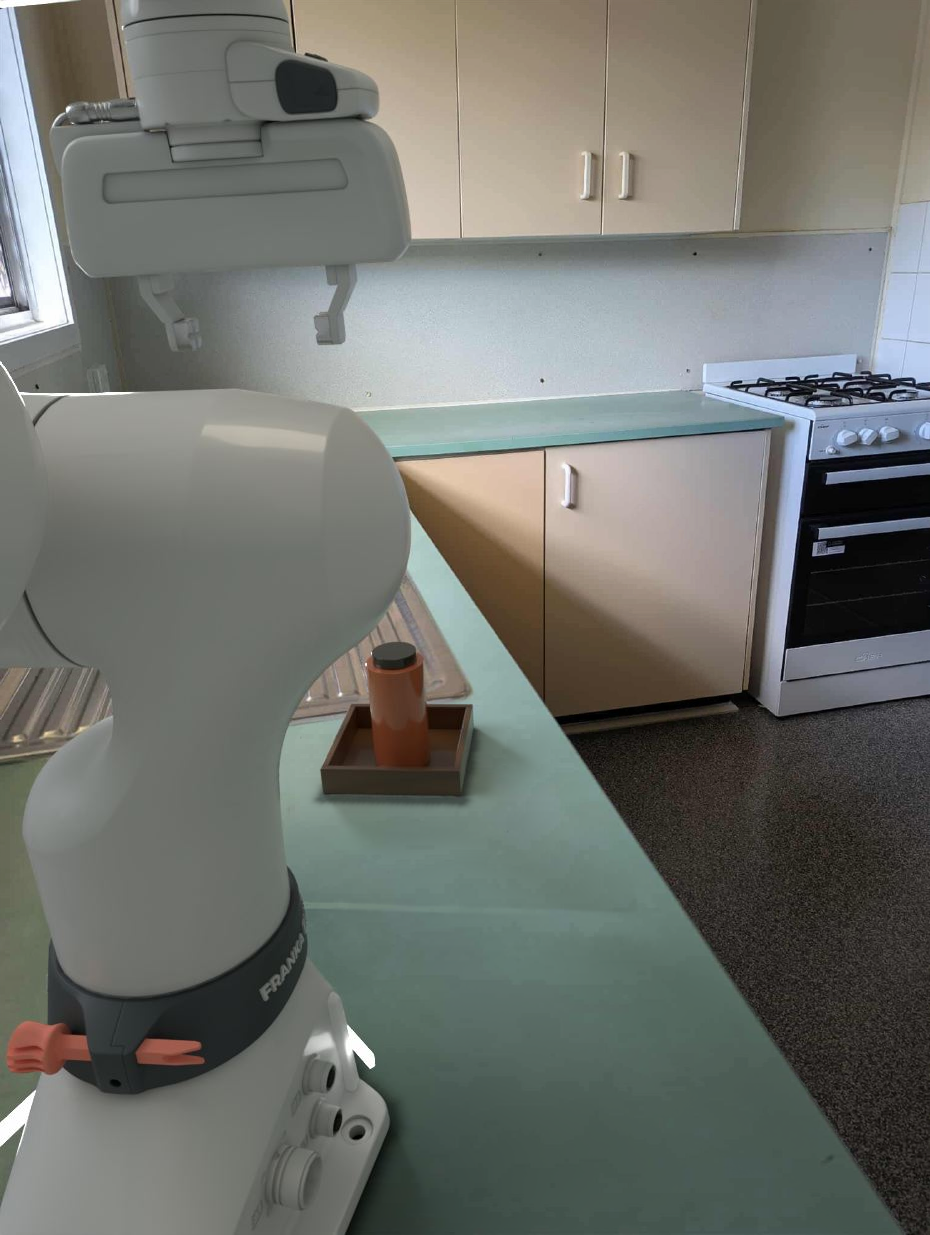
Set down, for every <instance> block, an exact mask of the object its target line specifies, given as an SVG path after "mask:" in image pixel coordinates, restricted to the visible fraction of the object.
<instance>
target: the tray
mask: <svg viewBox="0 0 930 1235" xmlns="http://www.w3.org/2000/svg"><path fill="white" fill-rule="evenodd" d="M427 710H428V724H429V738H430V751H431V758H430V760H429V762H428V763H427V764H426V765H425V766H423V767H393V766H377V764H376V762H375V754H374V744H373V734H372V724H371V714H370V704H369V703H351V704H350V705H349V707H348V709H347V711H346V714H345V716H344V718H343V720H342V722H341V724H340V726H339V728H338V731H337V732H336V735H335V737H334V739H333V741H332V743H331V744H330V747H329V749H328V752H327V754H326V755H325V758H324V760H323V762H322V764H321V766H320V768H319V771H320V779H321V785H322V788H321V789H322V793H323V795H355V796H356V795H357V796H358V795H361V796H363V795H364V796H365V795H366V796H371V795H372V796H416V797H417V796H420V797H421V796H423V797H427V796H428V797H436V796H437V797H462V794H463V787H464V782H465V777H466V771H467V766H468V761H469V755H470V750H471V745H472V739H473V733H474V729H475V722H474V705H473V704H472V703H454V704H453V703H427Z"/></svg>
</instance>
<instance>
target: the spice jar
mask: <svg viewBox="0 0 930 1235" xmlns="http://www.w3.org/2000/svg"><path fill="white" fill-rule="evenodd" d="M370 654H371V656H369V657H368V658H367V659H366V661H365V671H366V681H367V682H366V683H367V692H368V701H369V703H368V704H370V714H371V724H372V734H373V744H374V754H375V762H376V764H377V766H393V767H423V766H425V765H426V764H427V763H428V762H429V760H430V758H431V751H430V738H429V724H428V710H427V704H428V699H427V698H428V697H427V684H426V668H425V658H424V656H423V655H422V653H420V652H418V651H417V647H416V646H415V645H414V644H413V643H410V642H407V641H390V642H385V643H380V644H379V645H376V646H375V647H374V648H372V650H371V652H370Z"/></svg>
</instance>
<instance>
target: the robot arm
mask: <svg viewBox="0 0 930 1235" xmlns="http://www.w3.org/2000/svg"><path fill="white" fill-rule="evenodd" d="M78 1H80V0H0V10H2V9H5V8H9V7H23V6H33V5H43V4H55V3H66V2H68V3H69V2H78ZM120 1H121V2H120V17H119V18H120V26H121V30H122V36H123V41H124V46H125V52H126V57H127V61H128V65H129V66H128V67H129V71H130V77H131V81H132V87H133V92H134V96H133V97H123V98H114V99H109V100H108V99H107V100H104V101H98V102H90V101H75V102H71V103H69V104H67V105H66V106H65V111H63V112H61V113H60V114H59V115H58V116H56V118H55V119H54V121H53V123H52V125H51V128H50V130H49V134H48V135H49V144H50V149H51V152H52V157H53V161H54V164H55V165H54V166H55V169H56V171H57V174H58V175H59V177H60V180H61V190H62V191H61V192H62V202H63V212H64V218H65V219H64V220H65V225H66V233H67V237H68V244H69V249H70V252H71V256H72V259H73V262H75V264H76V265H77V266H78V267H79V268H80V269H81V270H82V271H83V272H84V273H85V275H87V276H88V277H90V278H93V279H95V278H97V279H98V278H114V277H116V278H117V277H133V276H135V277H136V281H137V285H138V290H139V295H140V297H141V298H142V299H143V300H144V302H145V303H146V304H147V306H148V307H149V308H150V309H151V310H152V312H153V313H154V314H155V315H156V317H157V318H158V319H159V320H160V321H161V323H162V324H164V327H165V331H166V336H167V341H168V346H169V349H170V350H171V352H188V351H189V352H191V351H197V350H198V349H201V347H202V345H203V344H202V343H203V340H202V335H201V334H200V333H199V331H200V323H199V319H198V317H185V315H184V313H183V312H182V311H181V309H180V308H179V307H178V305H177V304H176V302H175V301H174V299H173V297H172V296H171V294H170V293H169V292H170V291H173V290H174V289H175V288H176V287H175V281H174V275H173V274H189V273H209V272H210V273H211V272H228V271H231V272H232V271H246V270H266V269H284V268H285V269H286V268H302V267H303V268H305V267H321V266H323V267H325V274H326V275H325V276H326V281H327V283H326V284H327V285H328V286H336V289H335V291H334V294H333V296H332V299H331V301H330V304H329V307H328V308H327V311H320V312H318V313H317V314H315V315H314V316H313V323H314V324H313V325H314V329H315V330H316V331H317V332H316V334H315V339H316V344H317V345H318V346H334V345H337V346H338V345H343V344H345V342H346V336H347V334H346V326H345V316H344V312H345V311H346V309H347V306H348V305H349V302H350V299H351V297H352V294H353V292H354V290H355V288H356V285H357V283H358V274H357V265H361V264H380V263H381V264H382V263H393V262H396V261H397V260H399V259H400V258H401V257H403V255H404V254H405V253H406V252H407V250H408V249H409V247H410V246H411V243H412V224H411V214H410V208H409V201H408V195H407V190H406V185H405V179H404V175H403V170H402V166H401V165H402V164H401V162H400V158H399V155H398V151H397V148H396V146H395V143H394V141H393V140H392V138H391V136H390V135H389V134H388V132H387V131H386V130H385V129H384V128H382V127H381V126H380V125H379V124H376V123H375V122H372V121H370V120H372V119H374V118H375V117H376V116H377V115H378V114H379V111H380V92H379V86H378V85H377V83H376V81H375V80H374V79H373V78H372V77H371V76H369V75H368V74H366V73H364V72H362V71H361V70H357V69H355V68H351V67H348V66H346V65H345V66H344V65H340V64H338V63H334V62H330V61H329V60H328V59H327V58H325V57H324V56H321V55H320V54H319V55H318V54H316V53H310V52H305V53H304V54H302V53H297V52H296V50H295V48H294V47H293V43H292V36H291V30H290V21H289V20H290V19H289V14H288V11H287V8H286V5H285V2H284V0H120ZM67 121H69V123H71V125H63V124H64V123H65V122H67ZM72 124H73V125H72ZM411 546H412V516H411V508H410V503H409V498H408V494H407V490H406V487H405V483H404V480H403V478H402V475H401V472H400V470H399V468H398V466H397V463H396V462H395V460H394V458H393V456H392V455H391V453H390V451H389V449H388V447H387V446H386V445H385V444H384V442H383V440H382V439H381V437H380V436H379V435H378V434H377V432H375V430H373V428H372V427H371V426H370V425H369V423H367V421H366V420H364V419H363V418H362V417H361V416H360V415H359V414H358V413H357V412H356V411H354V410H353V409H352V408H349V407H346V406H341V405H336V404H331V403H327V402H322V401H317V400H312V399H311V400H310V399H306V398H301V397H295V396H289V395H285V394H284V395H283V394H277V393H269V392H262V391H256V390H249V389H243V388H236V387H235V388H234V387H233V388H210V389H207V388H206V389H184V390H183V389H180V390H158V391H157V390H155V391H154V390H153V391H126V392H102V393H101V392H99V393H96V392H95V393H31V392H30V393H29V392H19V390H18V388H17V386H16V384H15V383H14V381H13V379H12V377H11V375H10V374H9V372H8V371H7V369H6V367H5V366H4V365H3V364H2V362H1V361H0V669H97V670H98V671H99V672H100V673H101V675H102V677H103V679H104V680H105V683H106V686H107V688H108V690H109V693H110V694H109V695H110V698H111V706H112V714H111V715H109V716H107V717H105V718H103V719H101V720H99V721H98V722H96V723H95V724H92V725H91V726H90V727H87V729H85V730H83V731H81V732H80V733H79V734H77V735H75V736H73V738H72V739H70V740H69V741H67V742H66V743H65V744H63V745H62V746H61V747H60V748H59V749H58V750H56V752H55V753H54V754H52V756H50V758H49V759H48V760H47V762H46V763H45V764H44V765H43V767H42V768H41V769H40V770H39V773H38V774H37V776H36V777H35V780H34V782H33V783H32V786H31V788H30V791H29V794H28V797H27V800H26V802H25V808H24V812H23V818H22V824H21V825H22V827H21V832H22V833H21V834H22V838H23V842H24V845H25V848H26V851H27V852H26V853H27V855H28V860H29V861H30V865H31V870H32V873H33V876H34V880H35V884H36V888H37V891H38V895H39V898H40V902H41V905H42V909H43V913H44V917H45V919H46V923H47V927H48V930H49V934H50V941H49V943H48V944H49V945H48V960H47V973H46V974H45V992H47V1024H45V1023H41V1022H36V1021H34V1020H33V1021H31V1020H26V1021H23V1022H21V1023H20V1024H18V1025H17V1027H16V1028H15V1029H14V1031H13V1033H12V1034H11V1035H10V1038H9V1040H8V1044H7V1049H8V1050H7V1051H6V1054H5V1060H6V1061H7V1062H6V1066H7V1069H9V1072H10V1073H12V1074H30V1073H35V1072H40V1073H41V1074H40V1076H39V1079H38V1082H37V1085H36V1088H35V1090H34V1091H33V1092H32V1093H31V1094H30V1095H29V1096H28V1097H26V1098H25V1100H23V1101H22V1103H20V1104H19V1105H18V1106H17V1107H16V1108H15V1109H14V1110H13V1111H12V1112H11V1113H9V1114H8V1115H7V1117H5V1118H4V1119H3V1120H2V1121H1V1122H0V1147H1V1146H2V1145H3V1144H4V1143H5V1142H6V1141H7V1140H9V1139H10V1138H11V1137H12V1136H13V1135H14V1134H15V1133H16V1132H17V1131H18V1130H20V1128H21V1127H22V1126H23V1125H24V1126H23V1130H22V1133H21V1137H20V1140H19V1144H18V1147H17V1150H16V1154H15V1156H14V1157H15V1158H14V1160H13V1164H12V1166H11V1171H10V1173H9V1177H8V1180H7V1183H6V1187H5V1190H4V1193H3V1197H2V1200H1V1204H0V1235H346V1233H347V1231H348V1228H349V1226H350V1223H351V1221H352V1219H353V1216H354V1213H355V1211H356V1209H357V1207H358V1204H359V1201H360V1199H361V1197H362V1195H363V1192H364V1189H365V1187H366V1185H367V1183H368V1180H369V1177H370V1176H371V1173H372V1170H373V1168H374V1165H375V1162H376V1160H377V1158H378V1156H379V1153H380V1151H381V1149H382V1146H383V1143H384V1141H385V1138H386V1136H387V1135H388V1134H387V1133H388V1131H389V1129H390V1125H391V1118H390V1114H389V1110H388V1106H387V1102H386V1101H385V1100H384V1098H383V1096H381V1094H380V1093H379V1092H378V1091H376V1090H375V1088H373V1087H372V1086H371V1085H369V1084H368V1083H367V1082H365V1081H364V1080H362V1078H360V1076H359V1072H358V1068H357V1063H356V1058H355V1054H354V1052H355V1053H356V1054H357V1056H359V1058H360V1059H361V1060H362V1061H363V1063H365V1065H366V1066H367V1067H368V1068H369V1069H372V1068H374V1067H375V1066H376V1064H375V1062H376V1061H375V1055H374V1053H373V1052H372V1051H371V1049H369V1048H368V1046H367V1045H366V1044H365V1043H364V1042H363V1041H362V1040H361V1038H360V1037H359V1036H358V1035H357V1034H356V1033H355V1032H354V1031H353V1029H351V1027H350V1026H349V1024H348V1023H347V1018H346V1014H345V1010H344V1009H345V1008H344V1006H343V1002H342V1001H343V1000H342V998H341V997H340V996H339V995H338V993H337V991H336V990H335V989H334V987H333V986H332V985H331V984H330V983H329V981H328V980H327V979H326V978H325V977H324V976H323V974H322V973H321V972H320V970H319V969H318V968H317V966H316V964H315V963H314V962H313V961H312V959H311V957H310V956H309V955H308V948H309V947H308V945H309V944H308V935H307V914H306V910H305V909H306V908H305V903H304V900H303V897H302V894H301V893H300V889H299V885H298V881H297V879H296V876H295V875H294V873H293V871H292V869H291V868H290V867H289V866H288V864H287V855H286V849H285V840H284V830H283V821H282V820H283V819H282V807H281V788H280V786H281V785H280V783H281V782H280V769H281V768H280V767H281V757H282V751H283V745H284V742H285V738H286V734H287V731H288V729H289V726H290V724H291V721H292V719H293V717H294V716H295V713H296V712H297V709H298V708H299V706H300V704H301V703H302V701H303V699H304V698H305V696H306V695H307V693H308V692H309V691H310V689H311V688H312V687H313V685H314V683H315V682H317V680H318V679H320V678H321V676H322V675H323V674H324V673H325V672H326V671H327V670H328V669H329V668H330V667H331V666H332V665H333V664H334V663H336V662H337V661H338V660H339V659H340V658H341V657H342V656H344V655H346V654H347V653H348V652H350V651H352V649H354V648H355V647H357V646H358V645H360V644H361V643H362V642H363V641H364V640H365V639H366V638H367V637H368V636H369V635H370V634H372V633H373V631H374V630H375V629H376V628H377V626H378V625H379V624H380V623H381V621H382V620H384V617H385V616H386V614H387V613H388V611H389V610H390V608H391V606H392V605H393V604H394V601H395V599H396V598H397V595H398V593H399V591H400V588H401V586H402V583H403V581H404V578H405V576H406V572H407V568H408V563H409V558H410V553H411ZM356 1136H362V1138H359V1139H353V1138H354V1137H356Z"/></svg>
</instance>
